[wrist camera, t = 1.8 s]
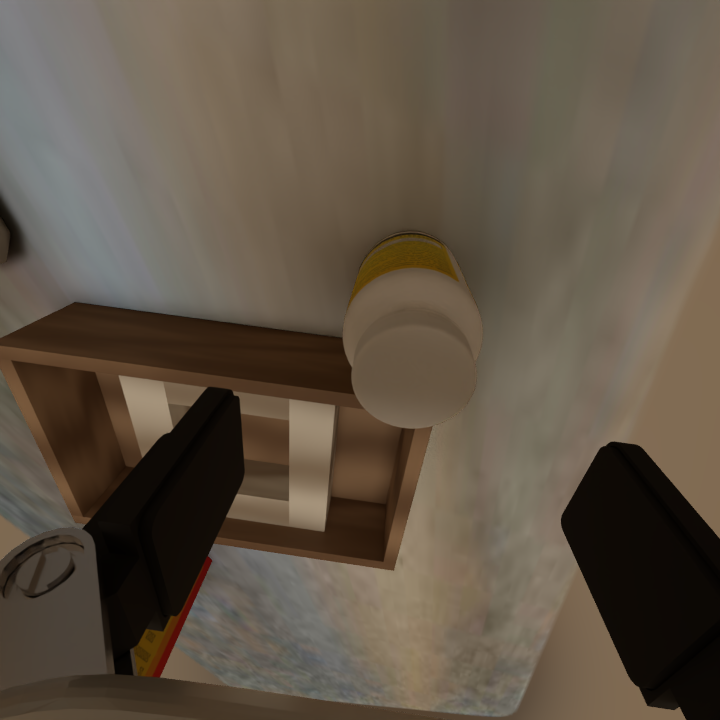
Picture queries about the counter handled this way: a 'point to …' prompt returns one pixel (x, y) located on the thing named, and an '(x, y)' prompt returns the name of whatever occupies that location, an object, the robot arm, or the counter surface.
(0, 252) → the tube
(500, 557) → the counter surface
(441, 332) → the supplement bottle
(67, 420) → the crate
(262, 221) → the counter surface
